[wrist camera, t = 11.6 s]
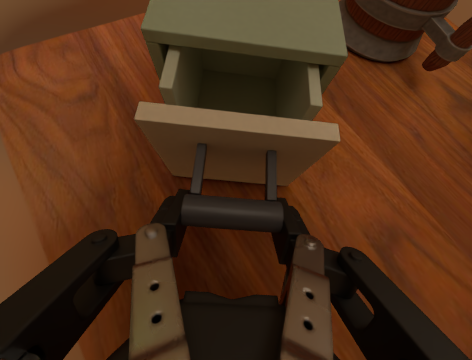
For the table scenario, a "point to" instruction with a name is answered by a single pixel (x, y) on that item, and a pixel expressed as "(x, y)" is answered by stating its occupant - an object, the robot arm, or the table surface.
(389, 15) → the mug
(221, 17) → the green drawer cabinet
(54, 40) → the table surface
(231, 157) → the beige drawer
